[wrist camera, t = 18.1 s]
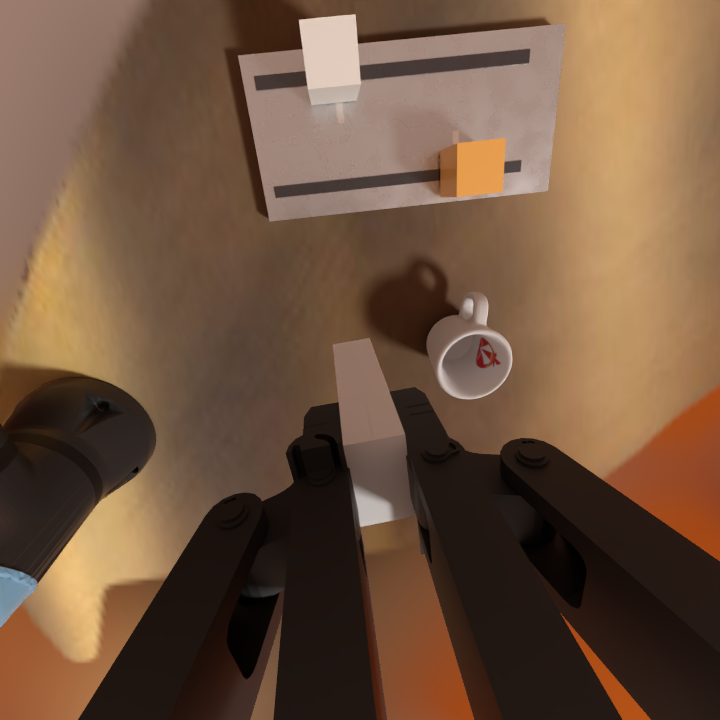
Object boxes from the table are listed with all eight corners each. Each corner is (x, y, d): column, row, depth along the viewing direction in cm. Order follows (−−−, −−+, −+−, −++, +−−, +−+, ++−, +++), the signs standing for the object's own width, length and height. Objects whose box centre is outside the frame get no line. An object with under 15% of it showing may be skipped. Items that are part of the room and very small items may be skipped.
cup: (428, 280, 40) (449, 298, 33) (495, 285, 41) (530, 303, 34) (414, 366, 45) (430, 398, 37) (475, 369, 46) (502, 401, 38)
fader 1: (311, 105, 31) (307, 89, 27) (303, 47, 30) (298, 19, 25) (356, 100, 31) (360, 83, 27) (351, 42, 30) (355, 14, 25)
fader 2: (440, 197, 35) (456, 197, 31) (440, 150, 33) (457, 143, 29) (480, 192, 35) (502, 192, 31) (482, 146, 34) (505, 137, 29)
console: (271, 220, 37) (269, 221, 35) (242, 61, 31) (237, 55, 30) (539, 191, 37) (548, 190, 36) (555, 31, 32) (566, 22, 30)
